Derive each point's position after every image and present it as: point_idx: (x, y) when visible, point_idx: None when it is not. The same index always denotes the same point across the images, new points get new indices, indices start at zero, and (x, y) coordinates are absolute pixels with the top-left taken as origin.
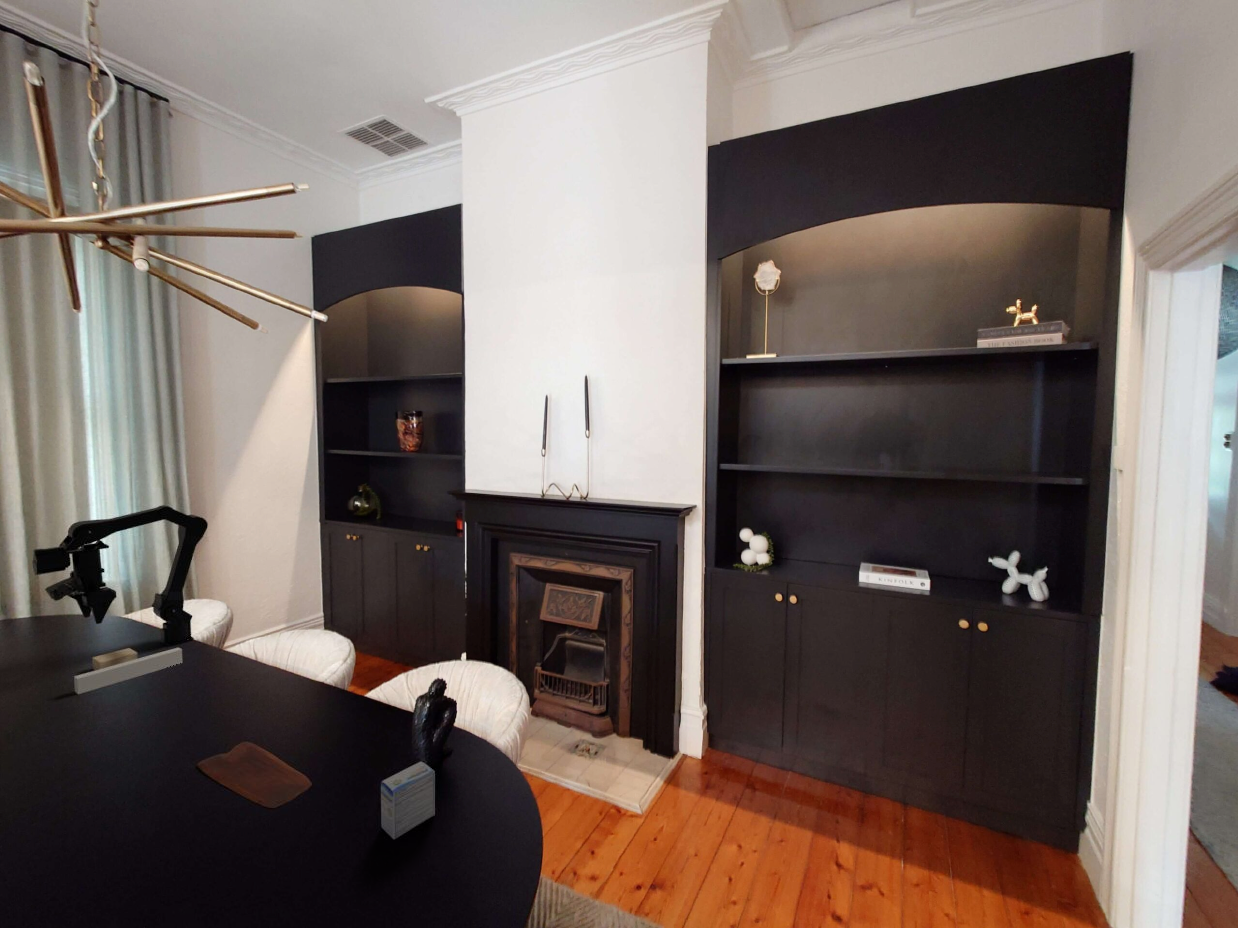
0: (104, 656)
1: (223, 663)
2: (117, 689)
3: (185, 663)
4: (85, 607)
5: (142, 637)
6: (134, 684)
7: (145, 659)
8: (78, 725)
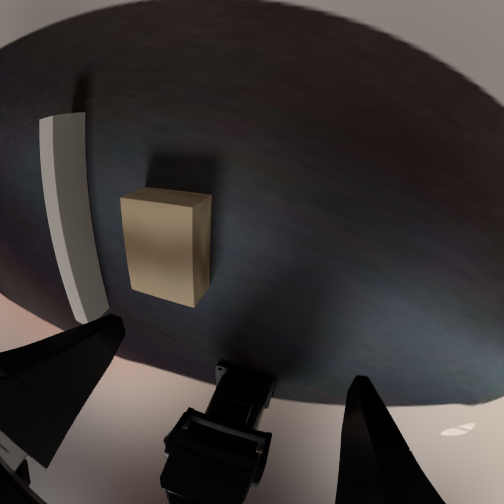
0: (169, 232)
1: (65, 315)
2: None
3: None
4: (357, 453)
5: None
6: None
7: (57, 258)
8: (4, 104)
